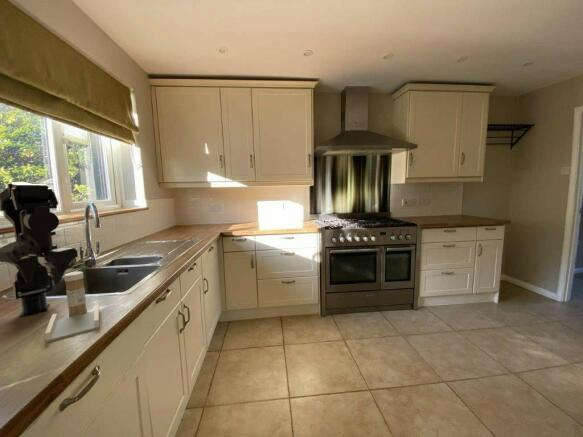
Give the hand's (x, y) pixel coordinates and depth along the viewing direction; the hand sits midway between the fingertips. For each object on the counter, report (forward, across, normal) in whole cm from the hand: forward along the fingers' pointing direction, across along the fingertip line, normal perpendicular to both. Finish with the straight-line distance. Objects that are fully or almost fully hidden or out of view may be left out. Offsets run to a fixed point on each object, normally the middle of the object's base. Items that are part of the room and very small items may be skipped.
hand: (42, 282), depth 71 cm
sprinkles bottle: (+14, +1, +8) cm, 16 cm away
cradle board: (+13, +8, +1) cm, 15 cm away
